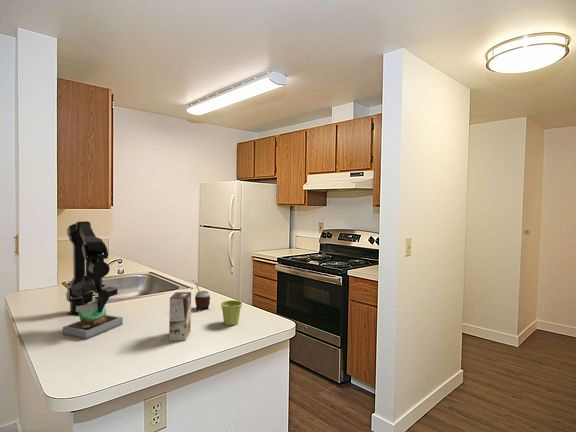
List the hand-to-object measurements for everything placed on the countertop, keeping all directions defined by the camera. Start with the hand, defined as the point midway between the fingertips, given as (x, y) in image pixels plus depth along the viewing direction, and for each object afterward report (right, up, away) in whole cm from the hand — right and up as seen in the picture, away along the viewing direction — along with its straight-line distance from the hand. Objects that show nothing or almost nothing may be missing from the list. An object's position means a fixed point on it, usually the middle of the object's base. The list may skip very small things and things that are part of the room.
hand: (94, 311), depth 138 cm
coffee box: (+35, -9, -4) cm, 37 cm away
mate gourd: (+36, -7, +29) cm, 46 cm away
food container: (+1, -6, +1) cm, 6 cm away
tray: (0, -7, 0) cm, 7 cm away
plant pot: (+53, -8, +11) cm, 54 cm away
